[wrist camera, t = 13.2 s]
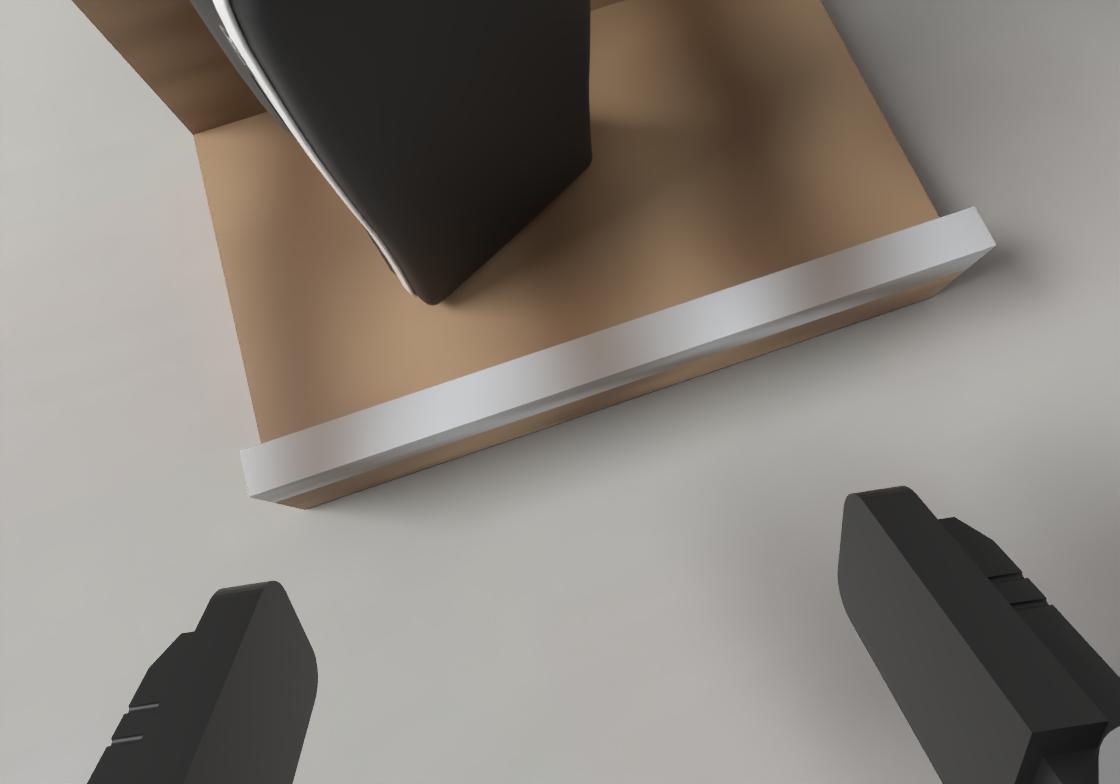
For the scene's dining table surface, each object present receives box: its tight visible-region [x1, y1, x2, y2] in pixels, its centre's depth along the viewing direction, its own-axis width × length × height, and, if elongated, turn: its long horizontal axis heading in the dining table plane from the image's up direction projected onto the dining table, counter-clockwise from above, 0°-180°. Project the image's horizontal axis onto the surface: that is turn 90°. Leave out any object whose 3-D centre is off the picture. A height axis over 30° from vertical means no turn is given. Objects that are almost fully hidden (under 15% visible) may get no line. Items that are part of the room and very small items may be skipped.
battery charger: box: [190, 0, 593, 306], centre depth 15 cm, size 7×4×11 cm, turn 135°
